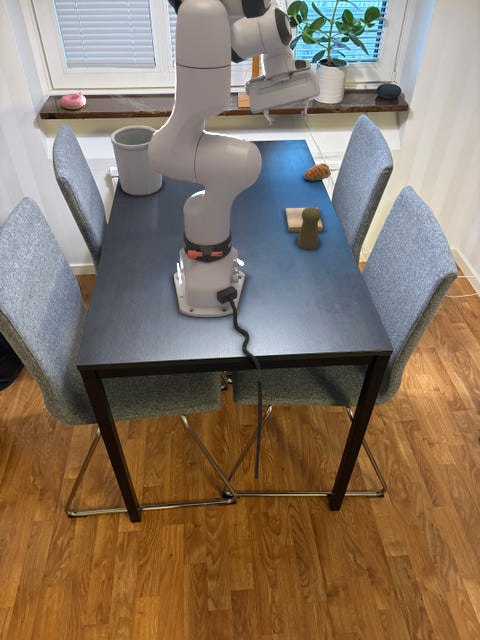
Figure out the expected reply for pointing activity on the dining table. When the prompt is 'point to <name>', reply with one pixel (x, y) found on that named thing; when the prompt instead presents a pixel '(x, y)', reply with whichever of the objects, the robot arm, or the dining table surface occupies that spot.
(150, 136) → the utensil holder
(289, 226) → the serving board
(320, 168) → the pastry
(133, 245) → the dining table surface
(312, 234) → the olive brown pawn
